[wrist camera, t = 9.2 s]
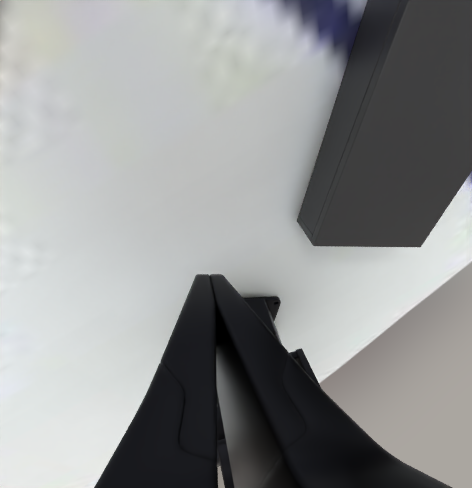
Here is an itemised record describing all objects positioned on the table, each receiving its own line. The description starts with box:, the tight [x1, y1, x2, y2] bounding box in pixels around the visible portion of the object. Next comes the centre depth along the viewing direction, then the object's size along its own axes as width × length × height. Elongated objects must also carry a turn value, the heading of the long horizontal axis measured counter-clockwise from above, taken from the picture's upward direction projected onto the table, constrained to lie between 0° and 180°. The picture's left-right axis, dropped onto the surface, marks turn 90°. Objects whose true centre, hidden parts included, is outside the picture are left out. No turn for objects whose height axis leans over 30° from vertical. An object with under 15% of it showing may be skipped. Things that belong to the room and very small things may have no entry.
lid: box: [297, 0, 472, 247], centre depth 17 cm, size 20×10×4 cm, turn 172°
